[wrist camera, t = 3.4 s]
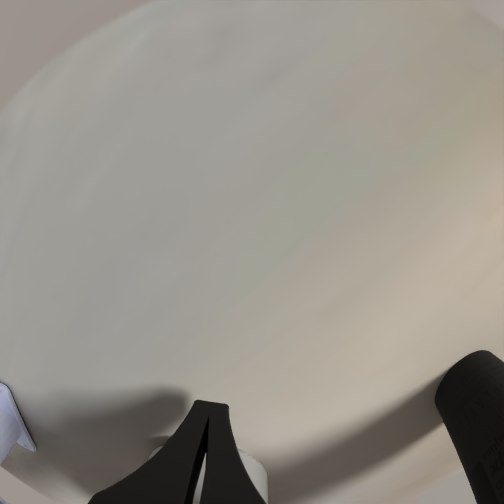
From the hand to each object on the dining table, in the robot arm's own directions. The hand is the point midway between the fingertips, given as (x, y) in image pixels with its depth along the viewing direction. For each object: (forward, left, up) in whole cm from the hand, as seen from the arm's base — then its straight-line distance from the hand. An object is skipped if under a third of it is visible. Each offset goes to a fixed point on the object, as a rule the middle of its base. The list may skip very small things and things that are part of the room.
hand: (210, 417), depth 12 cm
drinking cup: (+15, 0, -3) cm, 15 cm away
